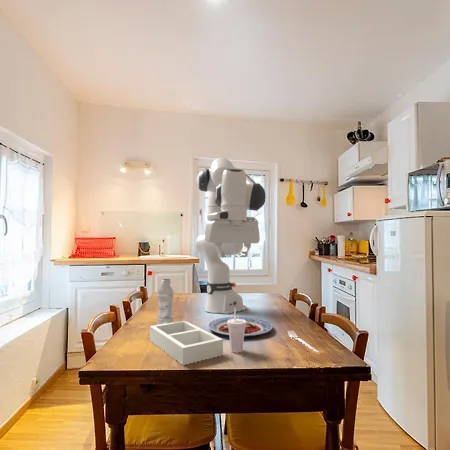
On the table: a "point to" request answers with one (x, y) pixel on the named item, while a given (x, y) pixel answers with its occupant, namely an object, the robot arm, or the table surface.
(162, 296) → the plastic bottle
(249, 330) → the ceramic plate
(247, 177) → the robot arm
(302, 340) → the fork
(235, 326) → the smoothie
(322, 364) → the table surface
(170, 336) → the caddy
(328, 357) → the table surface
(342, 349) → the table surface
